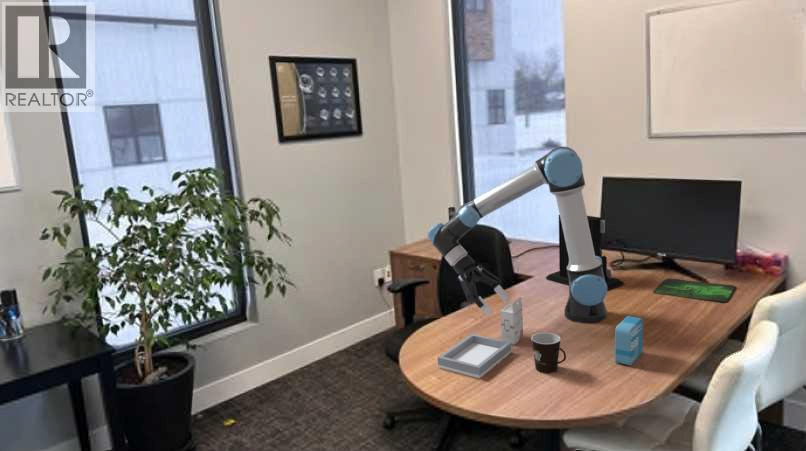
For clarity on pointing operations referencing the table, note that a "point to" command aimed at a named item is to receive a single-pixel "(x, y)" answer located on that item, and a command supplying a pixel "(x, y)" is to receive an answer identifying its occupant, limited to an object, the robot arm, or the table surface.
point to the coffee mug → (546, 352)
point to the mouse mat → (695, 290)
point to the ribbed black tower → (595, 229)
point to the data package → (628, 340)
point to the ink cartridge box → (512, 322)
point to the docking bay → (474, 355)
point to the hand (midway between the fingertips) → (499, 307)
